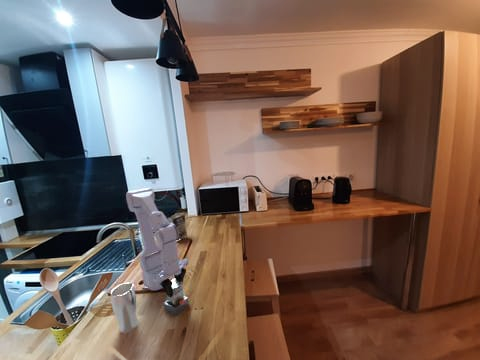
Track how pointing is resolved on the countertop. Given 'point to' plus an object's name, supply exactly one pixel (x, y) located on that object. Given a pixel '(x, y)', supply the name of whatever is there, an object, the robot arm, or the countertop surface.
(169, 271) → the robot arm
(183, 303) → the jack base
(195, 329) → the countertop surface
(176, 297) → the grooved grey block
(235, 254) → the countertop surface
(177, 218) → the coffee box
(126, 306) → the white tall cup
